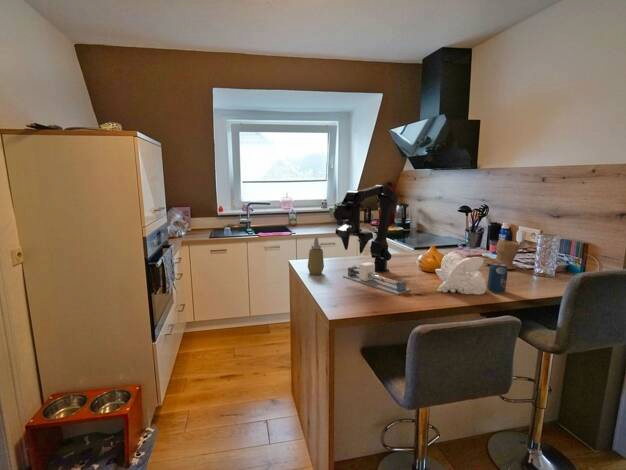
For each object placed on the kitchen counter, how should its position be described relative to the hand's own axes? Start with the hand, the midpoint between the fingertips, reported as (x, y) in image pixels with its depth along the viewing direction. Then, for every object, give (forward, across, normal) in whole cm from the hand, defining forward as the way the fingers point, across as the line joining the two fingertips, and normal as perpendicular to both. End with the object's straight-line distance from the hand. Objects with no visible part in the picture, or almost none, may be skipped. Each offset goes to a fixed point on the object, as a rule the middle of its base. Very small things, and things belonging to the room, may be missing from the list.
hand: (353, 251), depth 163 cm
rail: (+13, +12, +2) cm, 18 cm away
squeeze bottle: (+13, -16, -9) cm, 22 cm away
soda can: (+14, +51, +35) cm, 63 cm away
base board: (+13, +12, +2) cm, 18 cm away
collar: (+13, +7, +2) cm, 15 cm away
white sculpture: (+14, +40, +23) cm, 48 cm away
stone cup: (+16, +36, +78) cm, 88 cm away
